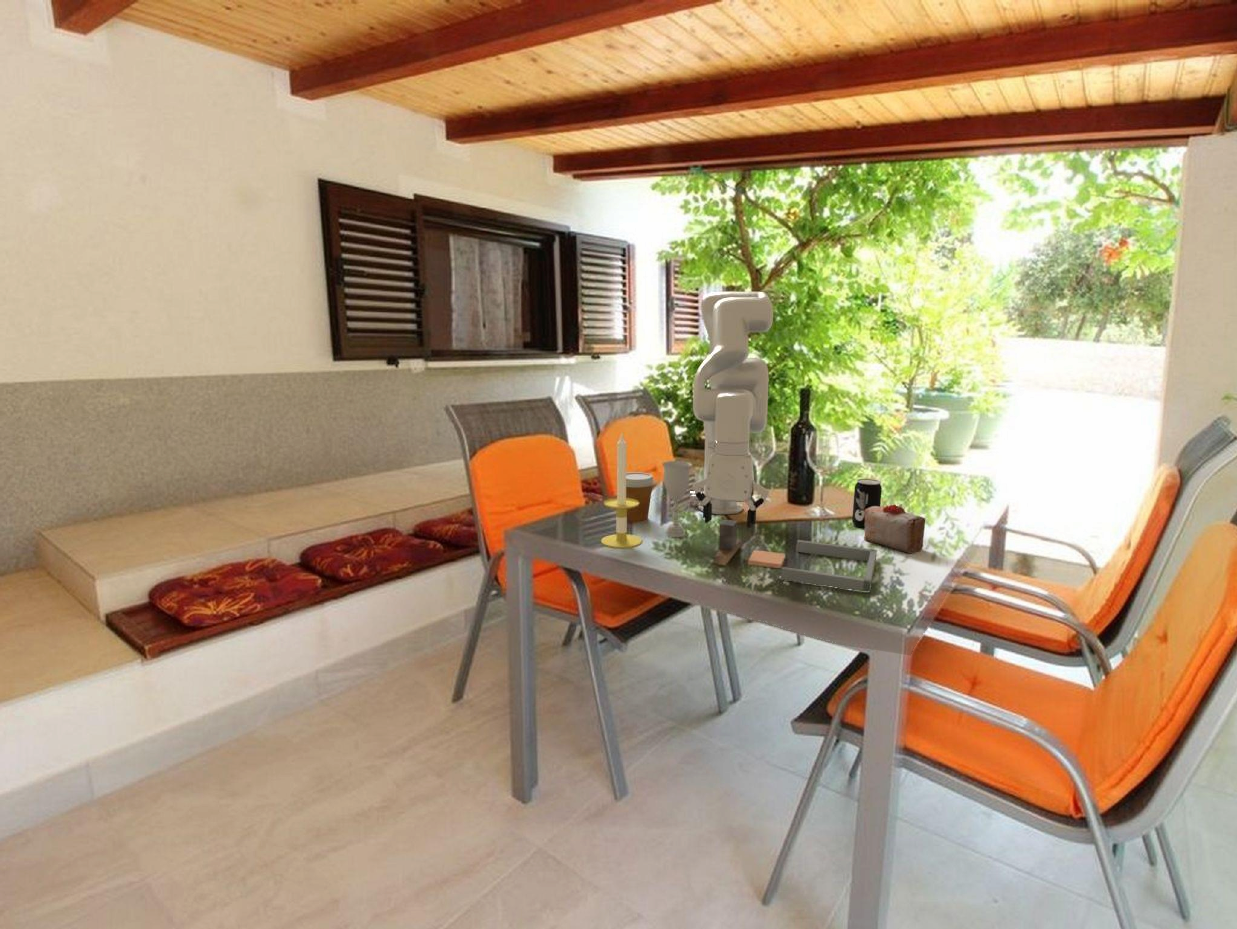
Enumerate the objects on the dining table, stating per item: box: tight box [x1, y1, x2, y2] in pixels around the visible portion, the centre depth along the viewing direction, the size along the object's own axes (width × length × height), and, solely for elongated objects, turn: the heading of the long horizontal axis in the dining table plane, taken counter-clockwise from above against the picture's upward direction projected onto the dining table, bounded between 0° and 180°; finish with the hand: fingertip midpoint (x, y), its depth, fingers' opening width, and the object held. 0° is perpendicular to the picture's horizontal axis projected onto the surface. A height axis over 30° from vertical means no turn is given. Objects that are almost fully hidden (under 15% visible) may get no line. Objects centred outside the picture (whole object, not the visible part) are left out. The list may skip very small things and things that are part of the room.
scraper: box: [714, 519, 741, 566], centre depth 153 cm, size 3×13×8 cm, turn 156°
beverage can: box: [851, 478, 883, 529], centre depth 175 cm, size 7×7×12 cm
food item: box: [864, 503, 926, 554], centre depth 160 cm, size 14×8×10 cm, turn 34°
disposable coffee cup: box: [626, 471, 655, 523], centre depth 180 cm, size 10×10×12 cm
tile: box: [748, 549, 786, 569], centre depth 150 cm, size 7×7×2 cm
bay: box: [780, 539, 878, 591], centre depth 144 cm, size 17×20×2 cm
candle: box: [600, 432, 643, 550], centre depth 160 cm, size 10×10×27 cm
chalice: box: [661, 460, 692, 538], centre depth 167 cm, size 7×7×18 cm
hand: (728, 523), depth 151 cm, fingers open, 9 cm apart
